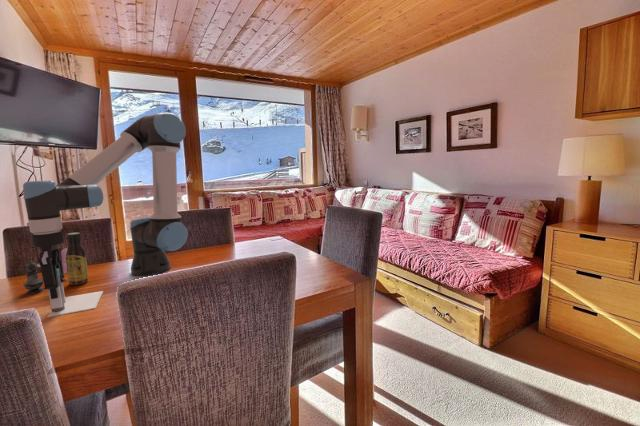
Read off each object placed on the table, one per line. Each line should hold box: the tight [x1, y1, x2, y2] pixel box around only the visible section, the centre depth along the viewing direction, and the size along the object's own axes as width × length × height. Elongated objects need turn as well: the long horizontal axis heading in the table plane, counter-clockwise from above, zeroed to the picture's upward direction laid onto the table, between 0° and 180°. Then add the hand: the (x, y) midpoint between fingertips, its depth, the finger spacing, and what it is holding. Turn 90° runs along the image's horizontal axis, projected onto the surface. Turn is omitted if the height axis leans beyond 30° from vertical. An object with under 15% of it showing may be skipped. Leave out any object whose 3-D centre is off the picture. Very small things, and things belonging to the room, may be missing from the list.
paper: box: [46, 290, 104, 318], centre depth 106 cm, size 12×16×1 cm
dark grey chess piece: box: [22, 259, 45, 295], centre depth 117 cm, size 6×6×12 cm
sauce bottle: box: [66, 232, 89, 286], centre depth 124 cm, size 6×6×20 cm
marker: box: [50, 268, 65, 312], centre depth 100 cm, size 3×3×13 cm
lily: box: [36, 247, 68, 275], centre depth 139 cm, size 12×12×10 cm
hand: (58, 305), depth 100 cm, fingers closed on marker, 3 cm apart
